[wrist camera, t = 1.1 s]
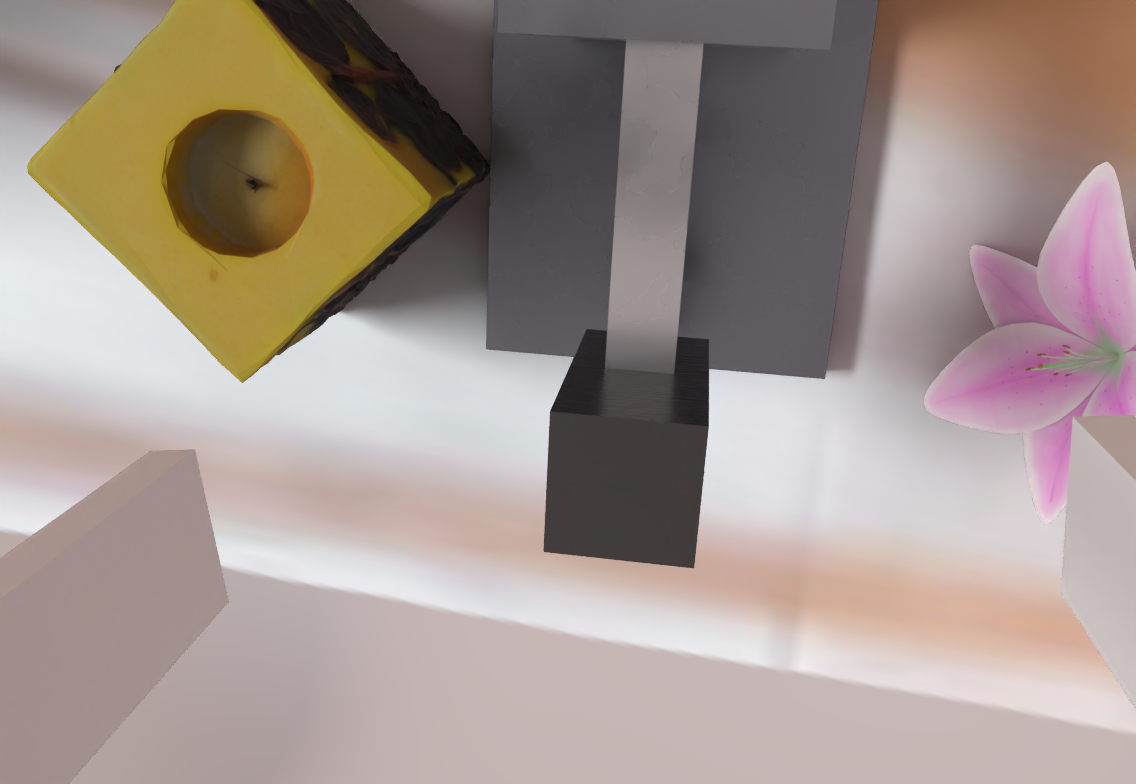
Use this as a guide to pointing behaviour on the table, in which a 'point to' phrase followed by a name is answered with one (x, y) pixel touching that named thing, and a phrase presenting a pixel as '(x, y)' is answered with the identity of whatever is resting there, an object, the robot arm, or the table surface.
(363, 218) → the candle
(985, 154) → the table surface
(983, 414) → the lily
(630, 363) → the shaft
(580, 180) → the shaft stand
